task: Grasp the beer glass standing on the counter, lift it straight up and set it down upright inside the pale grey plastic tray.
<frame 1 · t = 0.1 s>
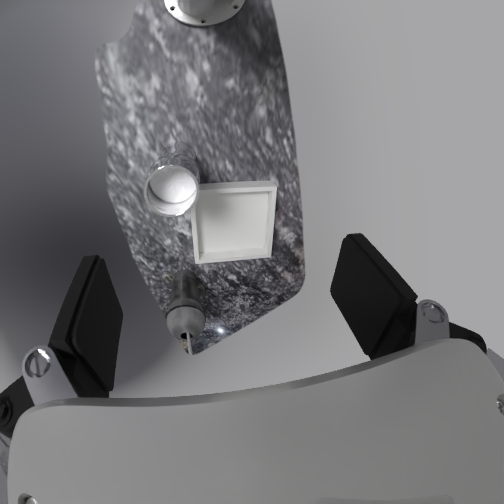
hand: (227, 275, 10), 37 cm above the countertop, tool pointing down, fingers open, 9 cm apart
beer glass: (177, 159, 42), on the countertop
tray: (231, 219, 50), on the countertop
beverage cup: (184, 277, 56), on the countertop
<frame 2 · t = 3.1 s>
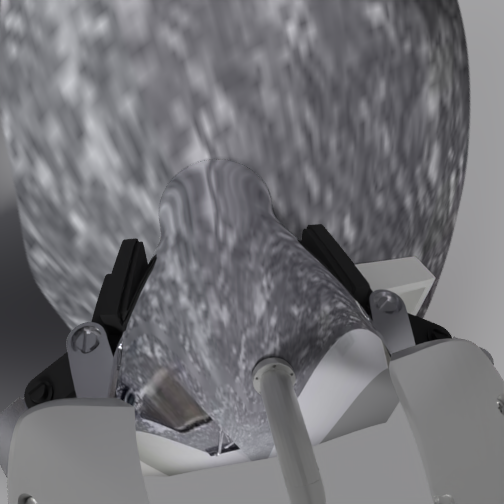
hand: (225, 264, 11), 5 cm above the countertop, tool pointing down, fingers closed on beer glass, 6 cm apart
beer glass: (215, 211, 15), on the countertop, touching gripper
tray: (325, 331, 23), on the countertop
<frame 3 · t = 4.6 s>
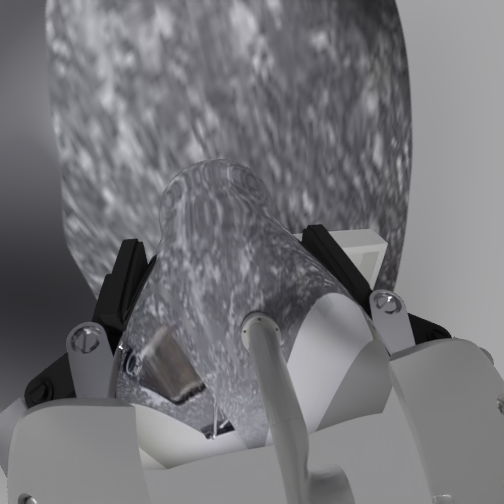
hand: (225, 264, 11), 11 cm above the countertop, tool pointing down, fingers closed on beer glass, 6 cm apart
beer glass: (215, 211, 15), point 7 cm above the countertop, touching gripper
tray: (298, 293, 29), on the countertop
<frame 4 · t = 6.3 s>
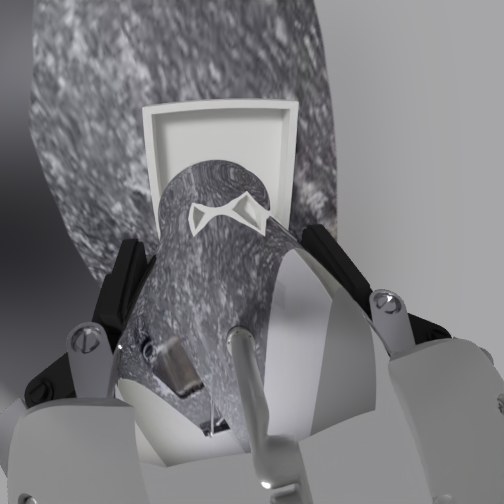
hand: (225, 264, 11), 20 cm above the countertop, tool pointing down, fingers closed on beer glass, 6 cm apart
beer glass: (214, 211, 15), point 15 cm above the countertop, touching gripper
tray: (220, 164, 28), on the countertop
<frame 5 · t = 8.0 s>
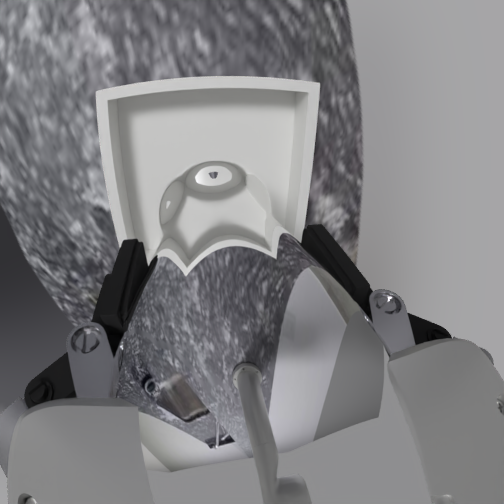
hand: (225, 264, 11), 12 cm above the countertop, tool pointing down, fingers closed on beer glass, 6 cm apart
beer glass: (215, 212, 15), point 7 cm above the countertop, touching gripper
tray: (207, 170, 20), on the countertop
when the fingers open (6 cm above the countertop, at t = 9.5 s): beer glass drops 1 cm, resting on tray.
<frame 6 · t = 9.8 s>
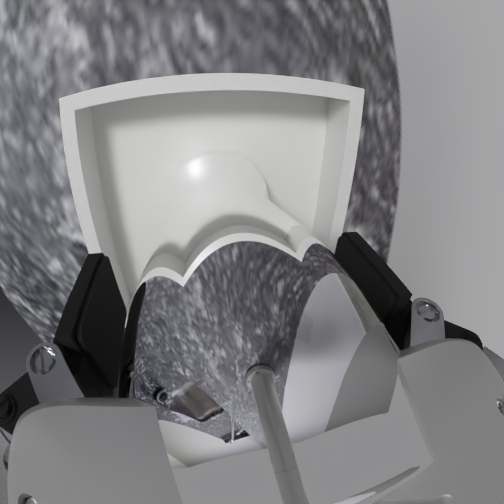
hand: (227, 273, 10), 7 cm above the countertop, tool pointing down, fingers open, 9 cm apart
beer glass: (216, 200, 16), resting on tray
tray: (212, 199, 16), on the countertop
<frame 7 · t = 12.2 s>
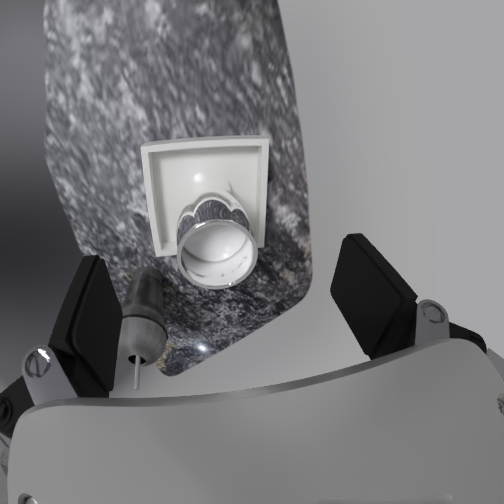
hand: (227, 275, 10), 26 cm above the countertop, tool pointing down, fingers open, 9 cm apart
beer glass: (207, 192, 34), resting on tray
tray: (206, 192, 34), on the countertop
beverage cup: (147, 277, 40), on the countertop
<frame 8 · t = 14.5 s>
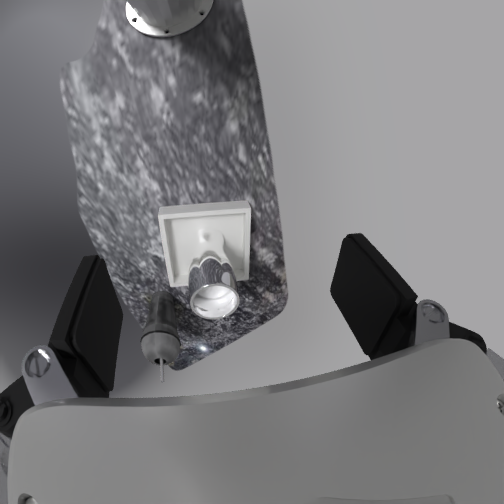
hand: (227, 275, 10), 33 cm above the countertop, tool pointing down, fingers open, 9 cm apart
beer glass: (207, 241, 47), resting on tray
tray: (205, 241, 48), on the countertop
beverage cup: (162, 298, 53), on the countertop
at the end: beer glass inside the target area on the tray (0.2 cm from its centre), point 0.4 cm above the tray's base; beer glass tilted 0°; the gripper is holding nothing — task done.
